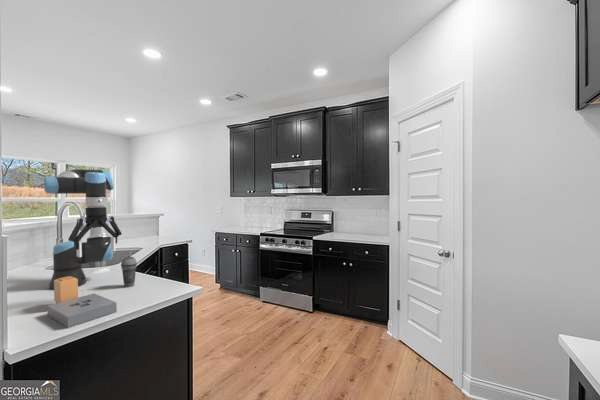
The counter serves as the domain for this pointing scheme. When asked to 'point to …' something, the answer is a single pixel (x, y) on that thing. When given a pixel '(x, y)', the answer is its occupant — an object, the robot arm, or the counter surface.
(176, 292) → the counter surface
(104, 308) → the socket
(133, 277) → the beverage cup
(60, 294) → the plug
